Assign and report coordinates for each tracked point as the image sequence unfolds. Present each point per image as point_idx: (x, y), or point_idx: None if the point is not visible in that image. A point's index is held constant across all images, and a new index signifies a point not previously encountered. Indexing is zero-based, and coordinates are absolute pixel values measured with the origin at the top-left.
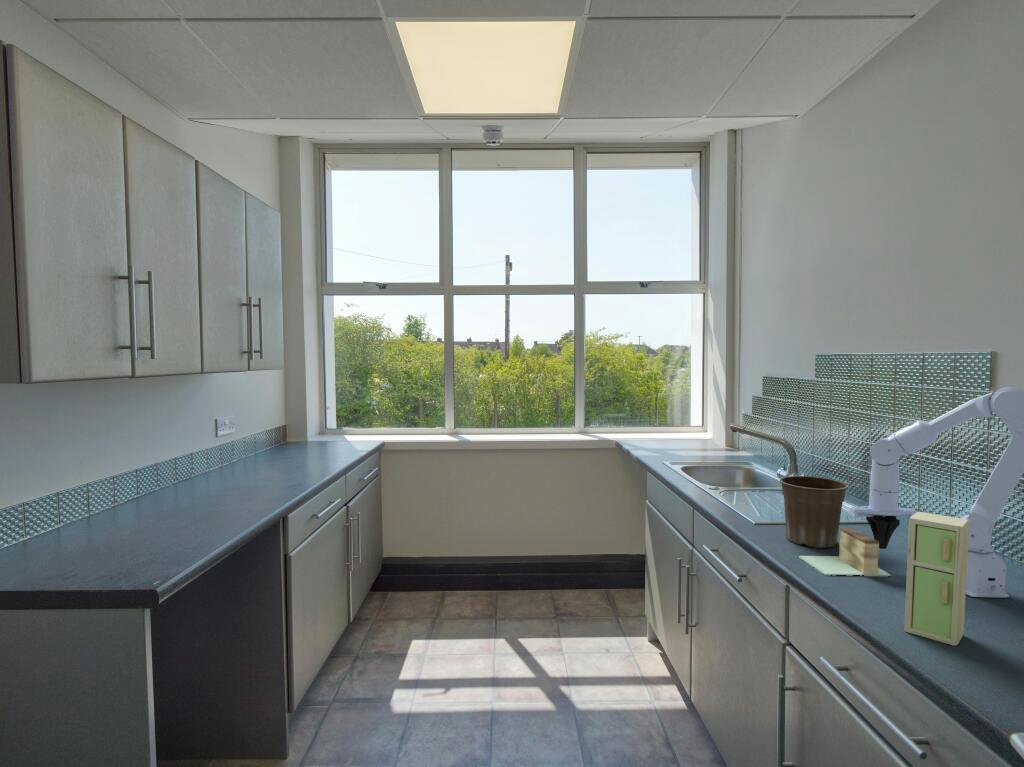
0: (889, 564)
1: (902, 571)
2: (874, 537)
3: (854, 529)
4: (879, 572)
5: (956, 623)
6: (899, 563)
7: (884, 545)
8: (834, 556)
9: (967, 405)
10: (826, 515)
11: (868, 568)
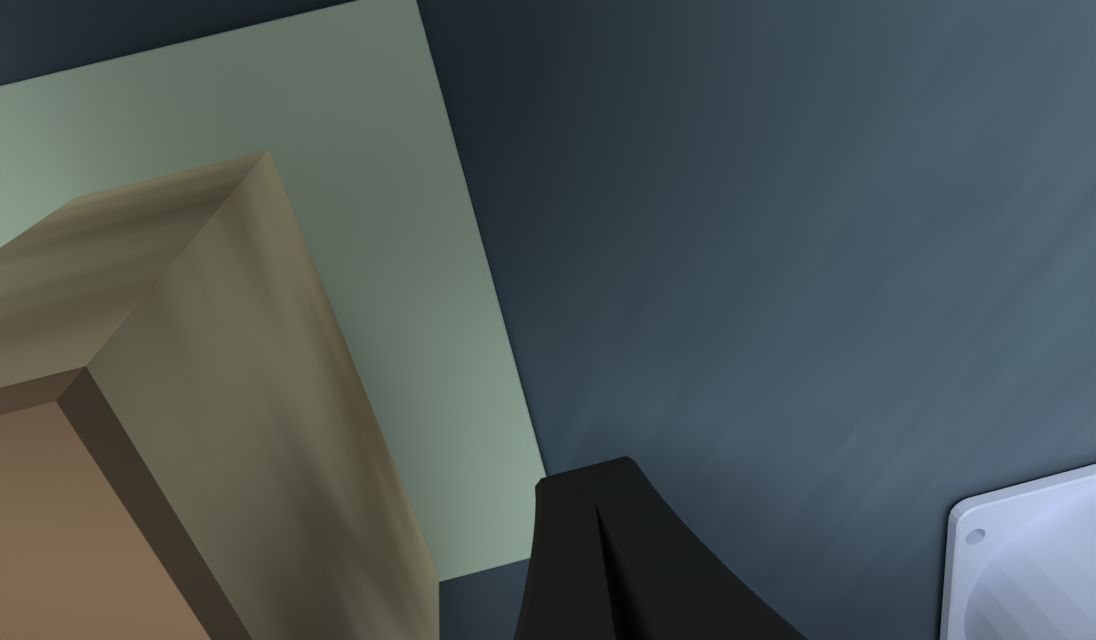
0: (734, 152)
1: (756, 358)
2: (533, 590)
3: (83, 482)
4: (478, 524)
5: None
6: (887, 69)
7: (625, 627)
8: (7, 97)
9: None
10: None
11: None
